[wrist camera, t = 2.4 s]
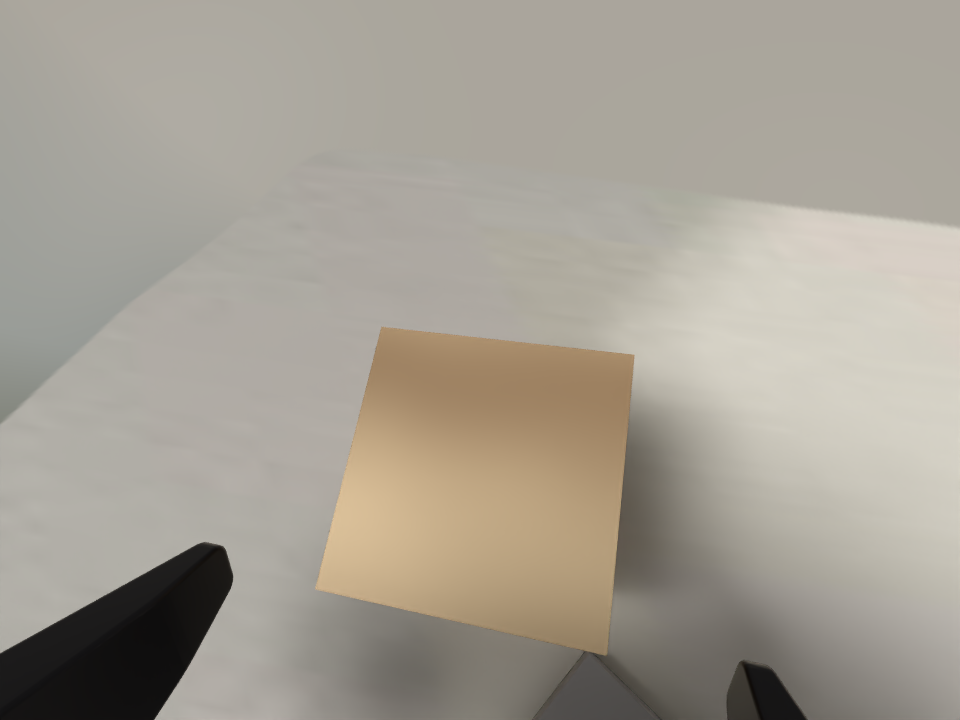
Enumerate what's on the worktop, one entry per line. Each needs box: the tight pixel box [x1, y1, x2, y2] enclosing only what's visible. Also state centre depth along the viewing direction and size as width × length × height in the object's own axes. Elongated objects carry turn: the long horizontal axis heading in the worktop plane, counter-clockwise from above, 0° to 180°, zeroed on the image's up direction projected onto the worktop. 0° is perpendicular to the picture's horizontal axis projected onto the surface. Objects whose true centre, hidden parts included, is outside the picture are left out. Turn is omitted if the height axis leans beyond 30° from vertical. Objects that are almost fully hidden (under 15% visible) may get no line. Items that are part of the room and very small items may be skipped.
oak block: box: [315, 327, 634, 656], centre depth 14 cm, size 5×5×10 cm
